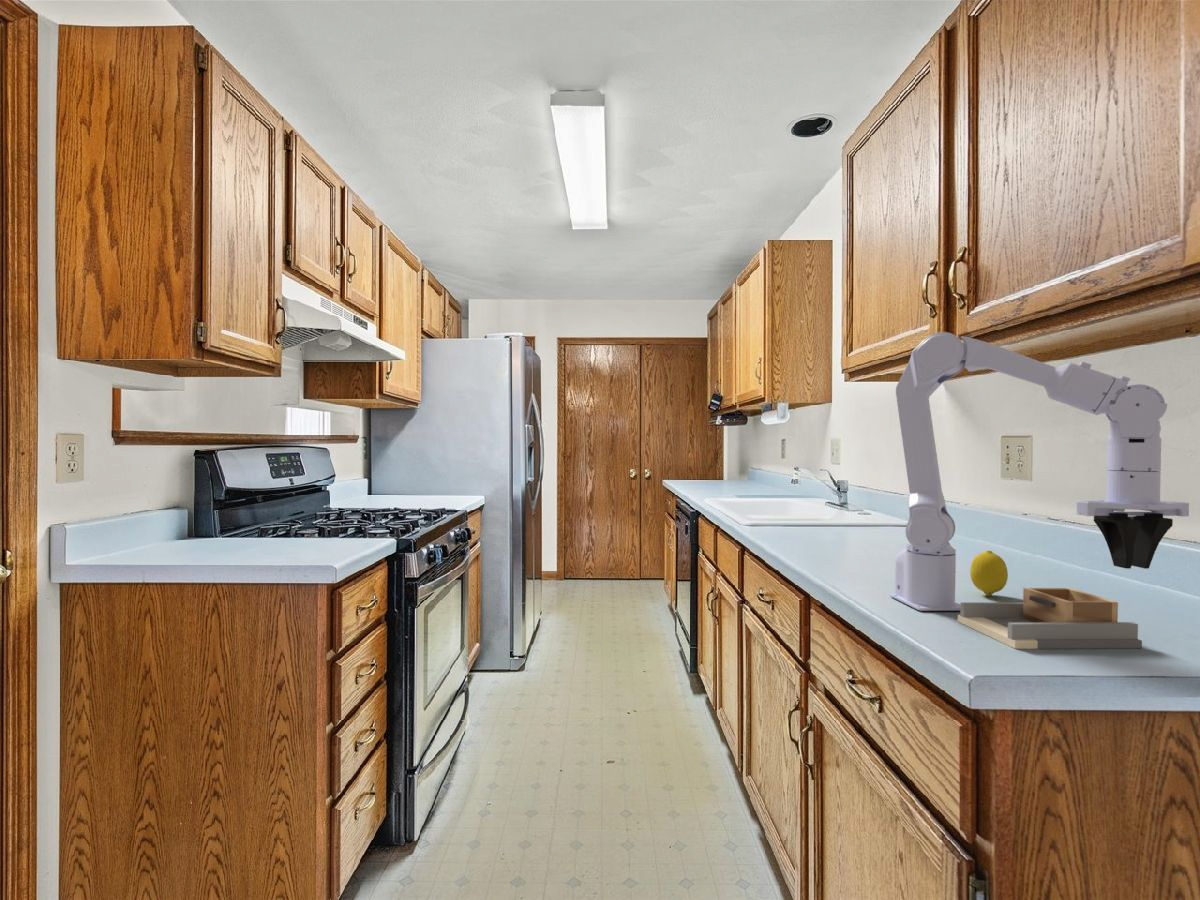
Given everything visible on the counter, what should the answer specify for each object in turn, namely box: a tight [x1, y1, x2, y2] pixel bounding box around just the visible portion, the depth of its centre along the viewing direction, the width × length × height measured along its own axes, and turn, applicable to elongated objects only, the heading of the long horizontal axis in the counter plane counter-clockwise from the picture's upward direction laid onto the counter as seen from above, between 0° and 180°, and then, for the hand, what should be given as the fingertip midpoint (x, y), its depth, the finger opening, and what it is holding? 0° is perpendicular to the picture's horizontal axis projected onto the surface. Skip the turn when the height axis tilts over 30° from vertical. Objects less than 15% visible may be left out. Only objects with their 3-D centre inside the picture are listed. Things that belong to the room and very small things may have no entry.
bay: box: [957, 601, 1143, 650], centre depth 85 cm, size 12×17×3 cm
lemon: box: [969, 549, 1009, 597], centre depth 106 cm, size 6×6×8 cm
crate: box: [1022, 587, 1119, 622], centre depth 85 cm, size 8×8×4 cm
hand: (1131, 567), depth 85 cm, fingers open, 2 cm apart
